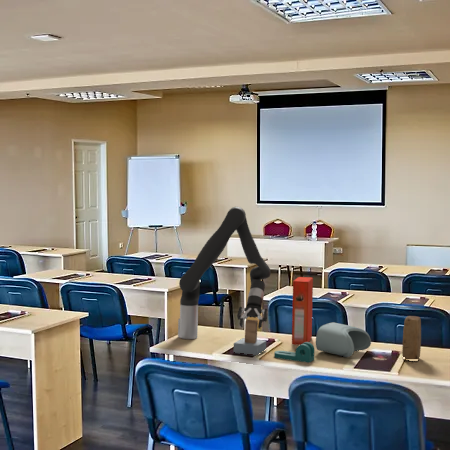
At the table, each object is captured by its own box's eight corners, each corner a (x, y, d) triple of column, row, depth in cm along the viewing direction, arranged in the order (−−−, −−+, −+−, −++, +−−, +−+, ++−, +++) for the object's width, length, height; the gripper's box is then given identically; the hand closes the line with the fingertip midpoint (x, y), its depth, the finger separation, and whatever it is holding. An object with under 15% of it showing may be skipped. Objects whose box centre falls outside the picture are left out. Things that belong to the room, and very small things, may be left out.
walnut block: (246, 340, 312) (247, 319, 311) (256, 340, 311) (257, 320, 310) (244, 342, 307) (245, 321, 306) (255, 343, 306) (255, 322, 305)
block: (417, 363, 295) (419, 319, 294) (400, 361, 298) (402, 317, 297) (421, 357, 304) (423, 315, 303) (405, 355, 308) (407, 314, 307)
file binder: (291, 344, 326) (293, 280, 324) (296, 336, 342) (298, 276, 341) (307, 345, 324) (309, 281, 322) (311, 338, 340) (313, 277, 339)
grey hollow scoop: (335, 345, 324) (337, 320, 323) (370, 353, 314) (373, 327, 312) (314, 353, 307) (316, 327, 305) (351, 362, 296) (353, 335, 295)
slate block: (233, 353, 306) (233, 343, 306) (242, 348, 317) (243, 337, 317) (257, 356, 301) (257, 345, 301) (266, 351, 312) (266, 340, 312)
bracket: (314, 359, 297) (314, 342, 297) (309, 363, 291) (309, 345, 291) (277, 354, 305) (277, 338, 305) (272, 357, 299) (272, 341, 298)
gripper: (240, 293, 317) (234, 321, 307) (269, 295, 314) (264, 323, 304) (242, 302, 323) (236, 330, 312) (270, 304, 320) (265, 332, 309)
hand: (250, 327), depth 308 cm, fingers open, 8 cm apart
